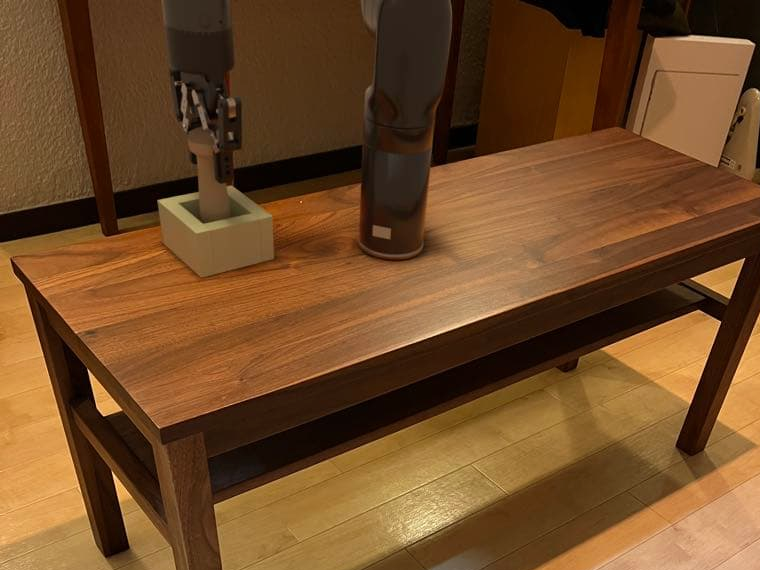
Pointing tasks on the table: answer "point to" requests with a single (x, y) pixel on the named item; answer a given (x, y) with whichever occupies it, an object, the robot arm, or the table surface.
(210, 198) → the handle
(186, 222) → the frame
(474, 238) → the table surface
